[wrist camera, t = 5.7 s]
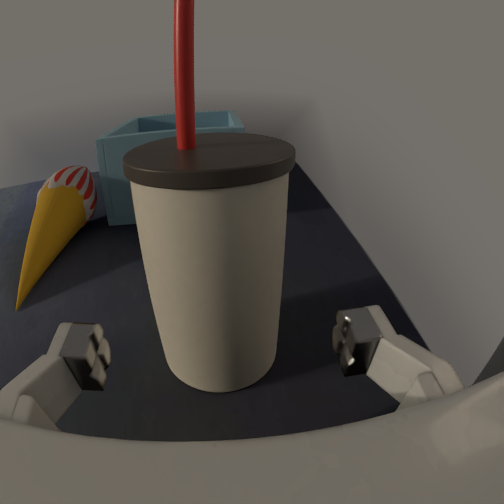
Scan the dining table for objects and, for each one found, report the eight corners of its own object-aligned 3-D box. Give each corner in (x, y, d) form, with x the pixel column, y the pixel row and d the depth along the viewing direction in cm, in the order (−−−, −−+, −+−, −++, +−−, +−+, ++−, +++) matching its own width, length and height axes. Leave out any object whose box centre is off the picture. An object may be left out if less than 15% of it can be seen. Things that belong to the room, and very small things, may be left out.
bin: (234, 171, 44) (234, 110, 40) (244, 218, 31) (244, 127, 26) (139, 177, 43) (134, 117, 38) (108, 226, 30) (94, 139, 25)
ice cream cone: (32, 342, 21) (88, 198, 35) (66, 321, 19) (121, 169, 33) (-27, 303, 17) (53, 166, 31) (-5, 271, 15) (85, 133, 29)
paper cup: (270, 306, 20) (280, -2, 11) (290, 390, 14) (324, -47, 5) (167, 312, 19) (138, 4, 10) (157, 397, 14) (90, -37, 5)
